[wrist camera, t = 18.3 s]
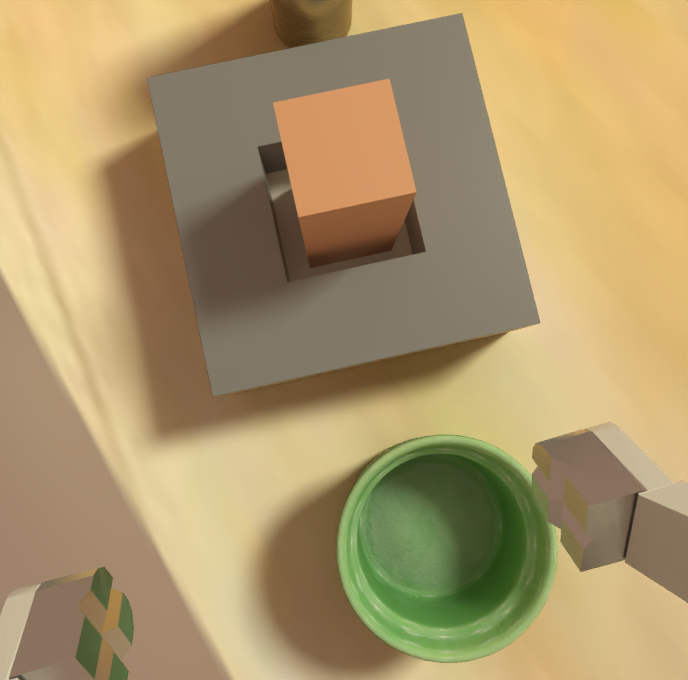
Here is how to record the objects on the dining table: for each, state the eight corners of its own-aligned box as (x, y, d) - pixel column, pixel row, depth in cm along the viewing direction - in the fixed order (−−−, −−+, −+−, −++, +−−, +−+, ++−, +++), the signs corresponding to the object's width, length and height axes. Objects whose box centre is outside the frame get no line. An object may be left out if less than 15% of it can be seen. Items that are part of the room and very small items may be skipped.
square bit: (391, 250, 26) (416, 192, 18) (309, 268, 26) (298, 217, 18) (373, 171, 26) (389, 78, 18) (292, 188, 26) (272, 102, 18)
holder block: (509, 331, 27) (540, 323, 23) (231, 394, 26) (212, 396, 22) (443, 66, 28) (462, 13, 24) (174, 122, 27) (146, 77, 23)
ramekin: (555, 557, 26) (600, 593, 22) (392, 651, 25) (404, 708, 21) (463, 393, 26) (489, 395, 22) (302, 482, 26) (296, 503, 22)
